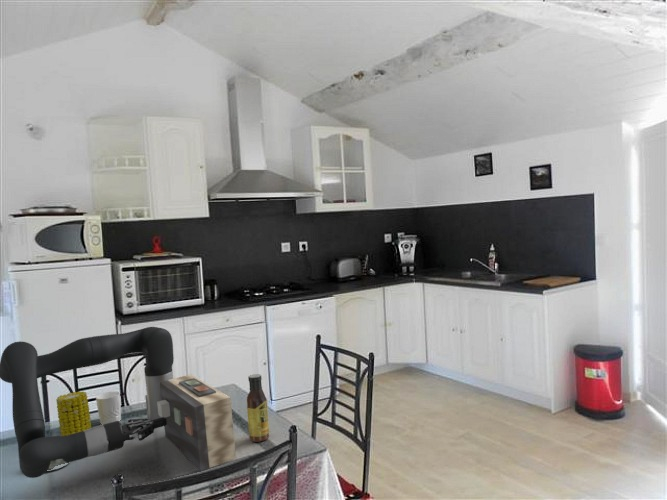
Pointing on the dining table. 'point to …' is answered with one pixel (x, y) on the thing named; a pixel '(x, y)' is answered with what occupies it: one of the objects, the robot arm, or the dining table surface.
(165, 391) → the keypad
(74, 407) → the food
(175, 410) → the sage key
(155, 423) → the robot arm
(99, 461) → the dining table surface
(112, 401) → the white cup
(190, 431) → the terracotta key
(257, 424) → the sauce bottle
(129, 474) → the dining table surface
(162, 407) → the ivory key
